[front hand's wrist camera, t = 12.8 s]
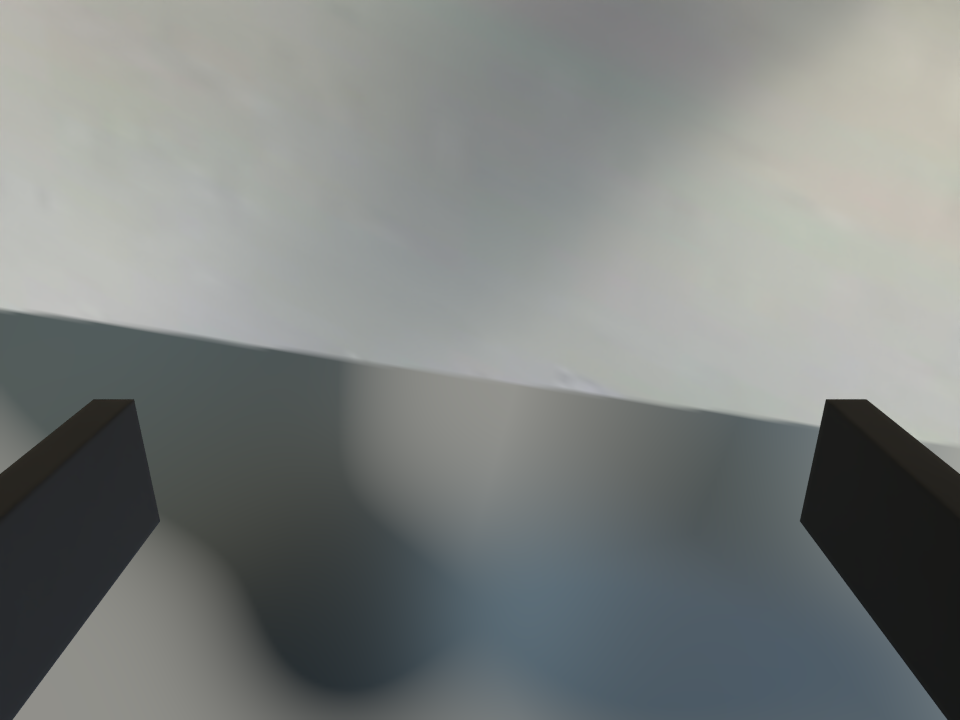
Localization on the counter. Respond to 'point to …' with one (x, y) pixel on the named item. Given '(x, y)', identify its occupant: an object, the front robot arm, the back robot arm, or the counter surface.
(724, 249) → the counter surface
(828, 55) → the counter surface
